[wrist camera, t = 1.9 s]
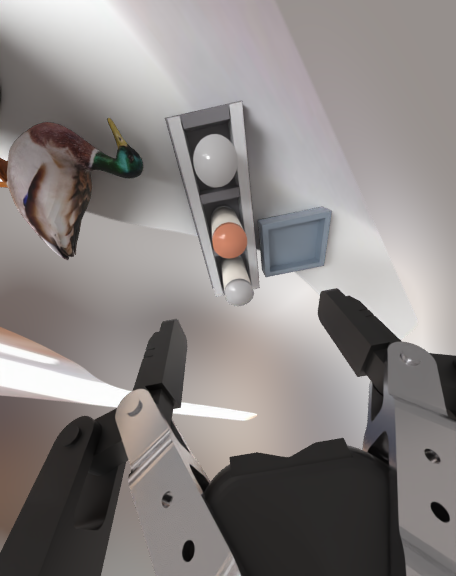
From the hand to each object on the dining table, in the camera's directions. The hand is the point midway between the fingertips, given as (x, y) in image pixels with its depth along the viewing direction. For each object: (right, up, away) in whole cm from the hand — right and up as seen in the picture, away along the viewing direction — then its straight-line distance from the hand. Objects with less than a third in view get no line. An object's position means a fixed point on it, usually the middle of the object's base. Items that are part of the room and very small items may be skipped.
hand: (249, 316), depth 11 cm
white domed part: (-3, +17, +12) cm, 21 cm away
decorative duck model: (-19, +14, +14) cm, 27 cm away
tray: (+9, +9, +20) cm, 24 cm away
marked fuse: (-2, +11, +16) cm, 20 cm away
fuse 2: (-1, +6, +20) cm, 21 cm away
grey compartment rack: (-2, +12, +17) cm, 21 cm away
